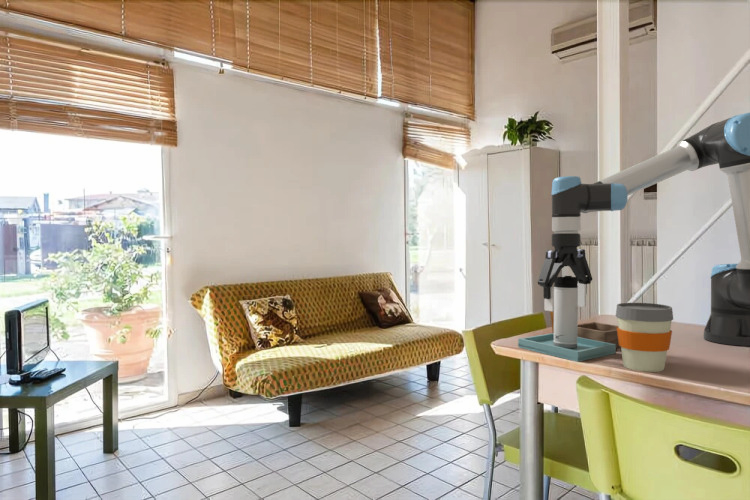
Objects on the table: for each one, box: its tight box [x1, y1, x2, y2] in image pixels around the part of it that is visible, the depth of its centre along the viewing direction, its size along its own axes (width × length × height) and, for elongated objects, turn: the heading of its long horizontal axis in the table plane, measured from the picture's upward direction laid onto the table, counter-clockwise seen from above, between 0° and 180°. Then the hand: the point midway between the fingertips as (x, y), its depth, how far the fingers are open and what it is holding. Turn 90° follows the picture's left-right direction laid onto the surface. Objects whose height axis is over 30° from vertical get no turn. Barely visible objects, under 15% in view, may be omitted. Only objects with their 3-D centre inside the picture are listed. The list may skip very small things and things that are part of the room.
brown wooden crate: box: [577, 321, 621, 349], centre depth 153 cm, size 12×12×5 cm
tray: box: [517, 332, 617, 362], centre depth 146 cm, size 20×16×2 cm
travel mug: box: [553, 275, 579, 349], centre depth 145 cm, size 6×7×20 cm
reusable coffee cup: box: [615, 302, 674, 373], centre depth 127 cm, size 13×13×15 cm
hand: (565, 308), depth 145 cm, fingers open, 13 cm apart
